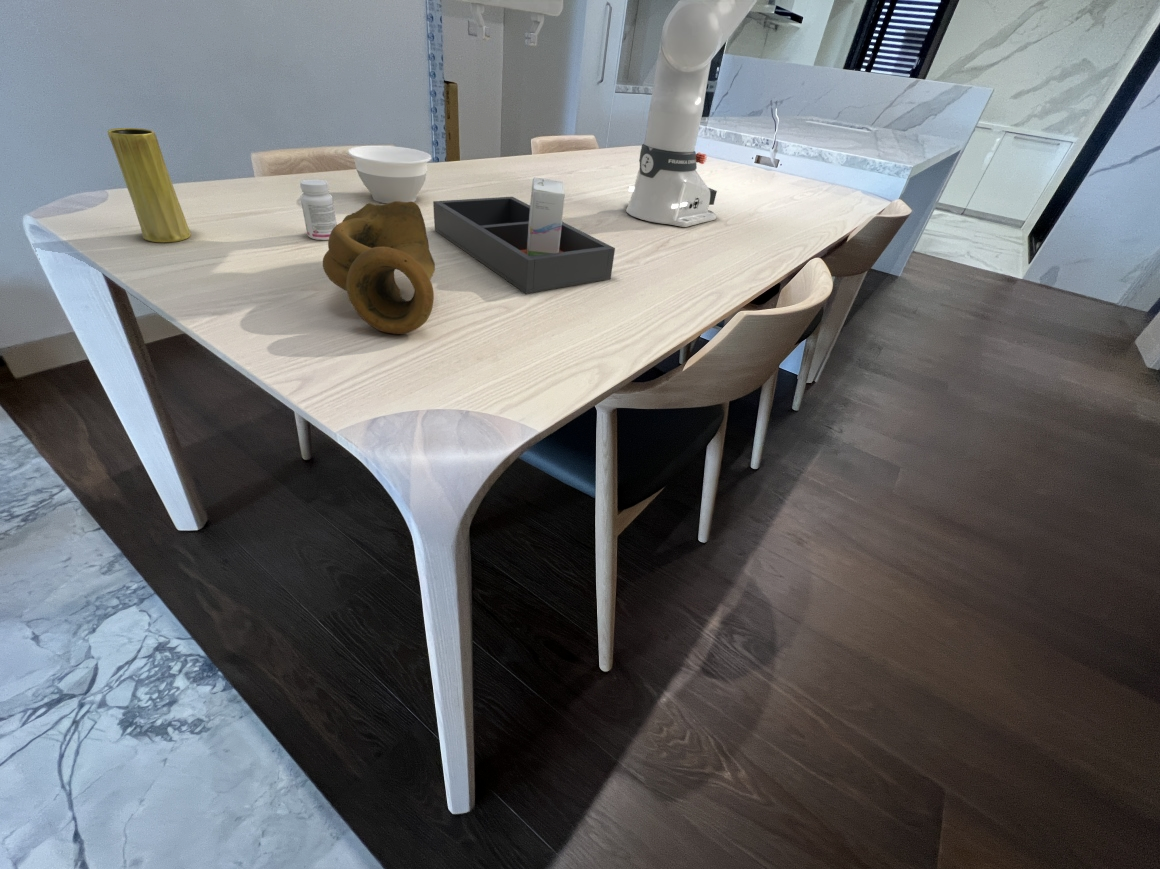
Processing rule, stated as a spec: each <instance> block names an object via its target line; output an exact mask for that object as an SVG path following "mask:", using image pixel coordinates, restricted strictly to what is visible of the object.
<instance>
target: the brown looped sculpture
mask: <svg viewBox="0 0 1160 869" xmlns="http://www.w3.org/2000/svg"><path fill="white" fill-rule="evenodd" d="M327 241H328V242H327V247H328V250H327V251H326V252H325V253H324V255H323V258H322V269H323V272H324V273H325V275H326V277H327V278H328V279H329V280H330V281H331V282H332V283H333V284H334V285H336V286H337V287H339V288H341V289H342V290H344V291H346V293H347V298H348V301H349V303H350V304H351V305H352V307H353V309H354V310H355V312H356V313H357V314H358V316H359V317H360V318H361V319H362V320H363V321H364V322H365V323H367V325H369V326H371V327H372V328H374V329H376V330H377V331H379V332H382V333H385V334H393V335H405V334H408V333H411V332H414V331H416V330H417V329H419V328H420V327H422V326H423V325H424V324H425V323H426V322H427V321H428V319H429V317H430V316H431V314H432V311H433V306H434V300H435V297H434V296H435V294H434V293H435V292H434V287H433V284H432V282H431V280H432V278H433V275H434V273H435V272H436V271H435V270H436V263H435V260H434V258H433V255H432V253H431V251H430V246H429V244H430V243H429V238H428V235H427V227H426V224H425V219H424V216H423V213H422V210H421V207H420V206H419V205H418V204H417V203H416V202H400V201H394V202H391V203H383V204H374V203H371V202H367V203H366V204H365V205H364V206H363V207H361V208H359V209H358V210H356V211H355V212H352V213H350V214H347V215H346V216H344V218H343V220H342V221H341V222H339V223H337V225H336V226H335V227H334V228H333V230H332V231H331V234H330V237H329V240H327ZM396 270H398V271H400V272H401V273H402V274H404V276H406V278H407V279H408V280H409V281H410V283H411V285H412V287H413V290H414V292H413V296H412V297H411V299H410V300H406V299H404V298H403V297H402V295H401V289H400V287H399V286H398V285H397V282H396V280H395V278H396V277H395V271H396Z"/></svg>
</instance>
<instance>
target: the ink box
mask: <svg viewBox="0 0 1160 869" xmlns="http://www.w3.org/2000/svg"><path fill="white" fill-rule="evenodd" d="M565 197H566V194H565V188H564V183H563V181H562V180H553V179H547V178H540V177H533V178H532V183H531V194H530V202H529V205H530V213H529V226H528V240H527V255H529V256H530V257H531V256H538V255H545V254H553V253H559V245H560V236H561V227H562V222H563V218H564V209H565V208H564V207H565V199H566V198H565Z"/></svg>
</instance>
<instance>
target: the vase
mask: <svg viewBox="0 0 1160 869" xmlns="http://www.w3.org/2000/svg"><path fill="white" fill-rule="evenodd" d="M106 132H107V136H108V138H109V141H110V143H111V145H112V147H113V151H114V153H115V157H116V159H117V163H118V165H119V168H120V171H121V174H122V178H123V180H124V182H125V186H126V189H127V191H128V193H129V197H130V200H131V203H132V205H133V208H134V209H133V210H134V212H135V214H136V217H137V220H138V225H139V226H140V227H139V228H140V229H141V233H142V234H141V237H142V238H143V239H144V240H145V241H149V242H152V243H175V242H181V241H184V240H187V239H189V238H191V235H192V232H191V230H190V227H189V225H188V223H187V220H186V217H185V215H184V212H183V209H182V206H181V204H180V201H179V199H178V196H177V193H176V190H175V187H174V184H173V182H172V179H171V177H170V176H171V175H170V174H169V171H168V167H167V164H166V162H165V159H164V155H163V152H162V150H161V146H160V144H159V140H158V138H157V134H156V132H155V130H152V129H147V128H141V127H115V128H114V127H113V128H110V129H108V130H107V131H106Z"/></svg>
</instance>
